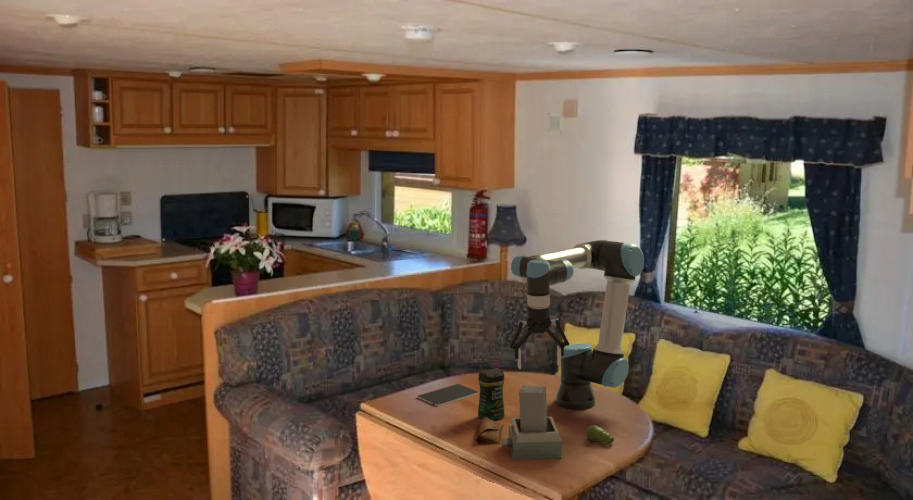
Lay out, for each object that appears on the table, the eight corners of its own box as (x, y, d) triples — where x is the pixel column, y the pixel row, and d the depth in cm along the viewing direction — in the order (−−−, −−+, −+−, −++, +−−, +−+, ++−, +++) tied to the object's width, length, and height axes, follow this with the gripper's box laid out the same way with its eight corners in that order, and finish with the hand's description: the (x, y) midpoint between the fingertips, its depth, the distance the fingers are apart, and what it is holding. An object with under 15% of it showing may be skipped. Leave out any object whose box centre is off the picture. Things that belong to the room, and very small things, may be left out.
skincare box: (547, 430, 274) (547, 385, 272) (543, 438, 268) (544, 392, 265) (523, 427, 277) (523, 383, 274) (518, 435, 270) (518, 390, 267)
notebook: (458, 387, 337) (417, 399, 323) (458, 383, 337) (417, 395, 323) (478, 395, 327) (437, 408, 314) (478, 391, 327) (437, 404, 314)
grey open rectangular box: (554, 441, 280) (554, 416, 279) (561, 458, 267) (561, 432, 265) (500, 442, 280) (500, 418, 278) (504, 460, 266) (504, 434, 264)
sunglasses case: (501, 444, 278) (491, 428, 277) (484, 453, 279) (474, 437, 279) (504, 424, 296) (494, 409, 295) (487, 433, 297) (478, 418, 296)
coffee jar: (486, 423, 296) (486, 375, 293) (474, 417, 303) (474, 369, 300) (508, 418, 302) (508, 370, 298) (496, 411, 308) (495, 364, 305)
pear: (593, 421, 284) (618, 432, 278) (590, 434, 285) (615, 446, 279) (584, 425, 279) (609, 437, 273) (582, 439, 281) (607, 451, 275)
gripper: (573, 301, 275) (573, 360, 279) (500, 304, 274) (501, 364, 278) (577, 307, 268) (577, 368, 272) (502, 310, 266) (504, 372, 271)
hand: (539, 366), depth 275 cm, fingers open, 13 cm apart
